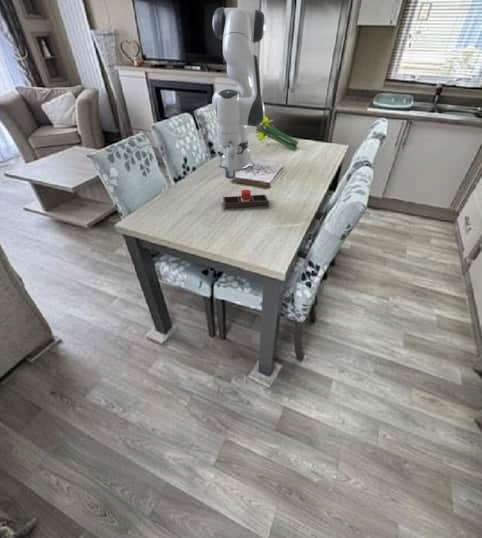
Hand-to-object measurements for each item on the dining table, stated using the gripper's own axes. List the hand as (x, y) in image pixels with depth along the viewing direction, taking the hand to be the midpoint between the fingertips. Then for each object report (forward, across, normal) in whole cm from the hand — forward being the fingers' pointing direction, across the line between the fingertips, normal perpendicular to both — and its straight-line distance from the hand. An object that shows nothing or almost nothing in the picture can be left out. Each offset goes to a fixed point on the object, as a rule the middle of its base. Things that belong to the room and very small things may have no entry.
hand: (230, 173), depth 125 cm
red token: (+12, 0, -7) cm, 13 cm away
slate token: (+2, 0, 0) cm, 2 cm away
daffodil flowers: (+15, +86, -42) cm, 97 cm away
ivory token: (+14, 0, -7) cm, 16 cm away
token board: (+15, 0, -7) cm, 17 cm away
